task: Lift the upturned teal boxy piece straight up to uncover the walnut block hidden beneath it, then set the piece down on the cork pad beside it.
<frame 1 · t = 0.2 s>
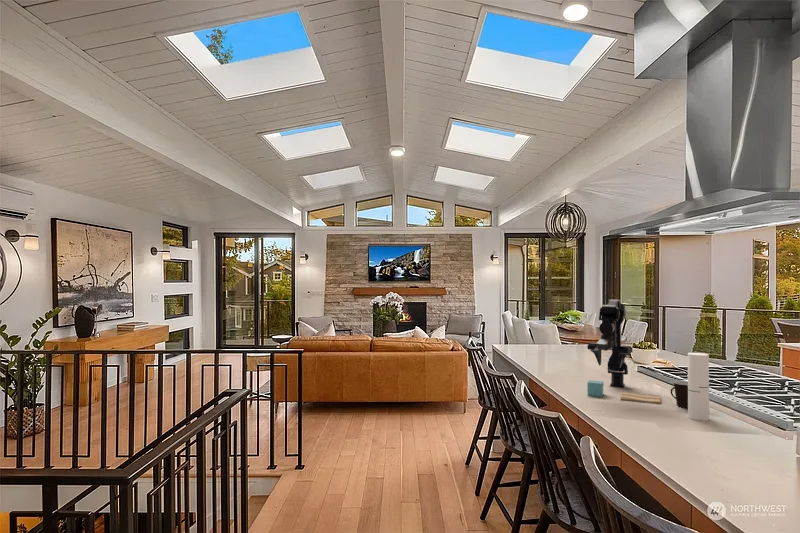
hand: (609, 366, 236), 14 cm above the counter, tool pointing down, fingers open, 9 cm apart
cylindrical container: (698, 418, 200), on the counter
teal boxy piece: (595, 394, 240), on the counter
coffee mug: (681, 407, 218), on the counter
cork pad: (640, 398, 232), on the counter
walnut block: (595, 390, 240), in the teal boxy piece
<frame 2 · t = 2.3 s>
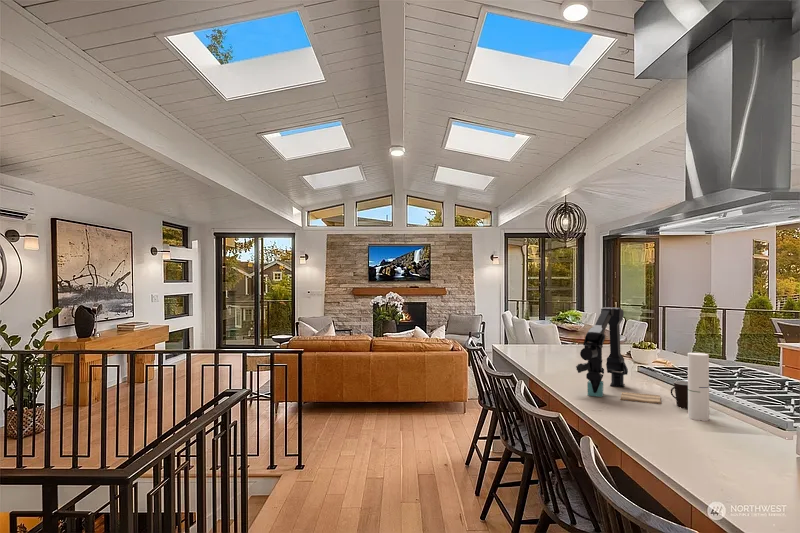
hand: (595, 391, 240), 2 cm above the counter, tool pointing down, fingers closed on teal boxy piece, 6 cm apart
teal boxy piece: (595, 394, 240), on the counter, touching gripper
everything else where it was.
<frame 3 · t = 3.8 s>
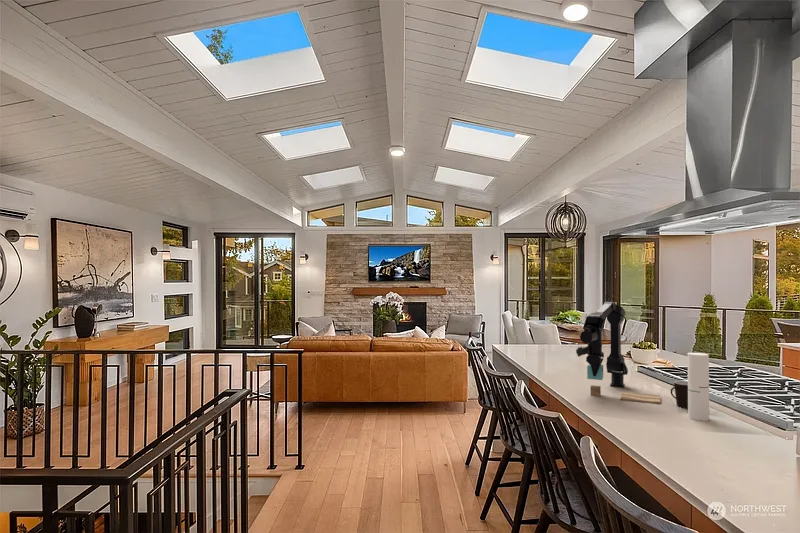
hand: (595, 374, 240), 9 cm above the counter, tool pointing down, fingers closed on teal boxy piece, 6 cm apart
teal boxy piece: (595, 378, 240), point 8 cm above the counter, touching gripper
everything else where it was.
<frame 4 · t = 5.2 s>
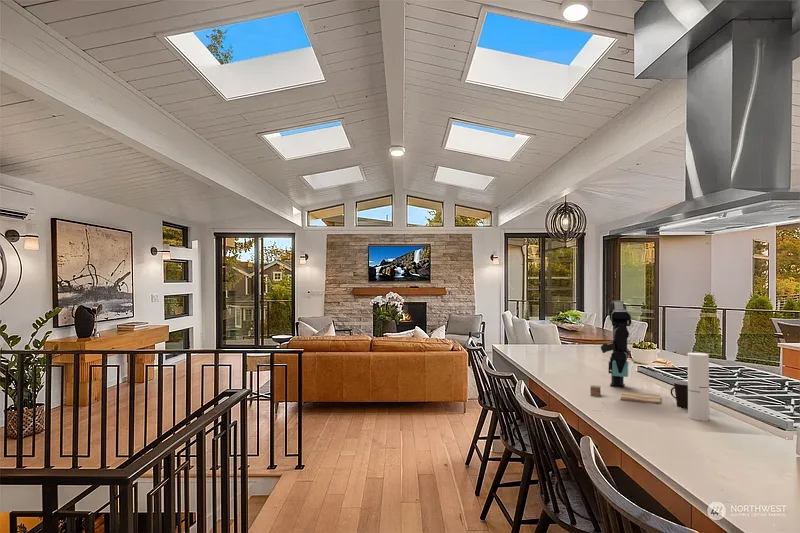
hand: (620, 371, 235), 11 cm above the counter, tool pointing down, fingers closed on teal boxy piece, 6 cm apart
teal boxy piece: (620, 375, 235), point 10 cm above the counter, touching gripper
everything else where it was.
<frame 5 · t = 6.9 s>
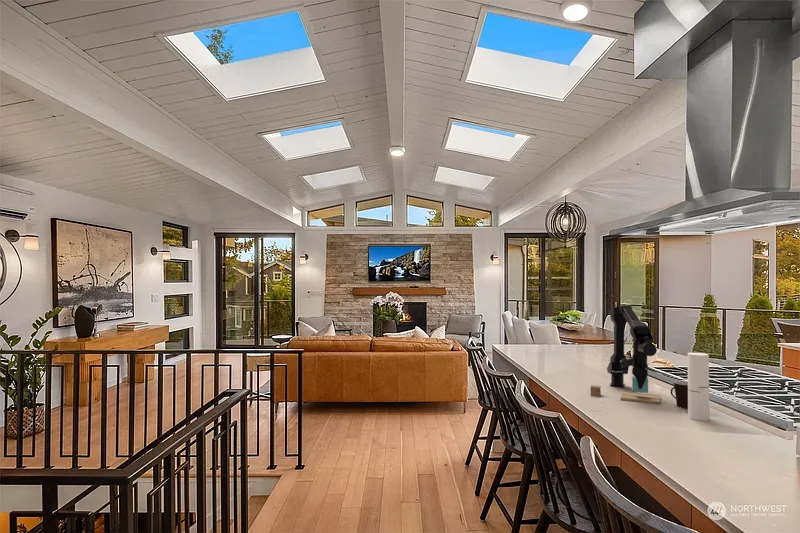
hand: (640, 387, 232), 5 cm above the counter, tool pointing down, fingers closed on teal boxy piece, 6 cm apart
teal boxy piece: (640, 390, 232), point 4 cm above the counter, touching gripper
everything else where it was.
when the fingers open (3 cm above the counter, at t = 8.2 s): teal boxy piece stays where it is, resting on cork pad.
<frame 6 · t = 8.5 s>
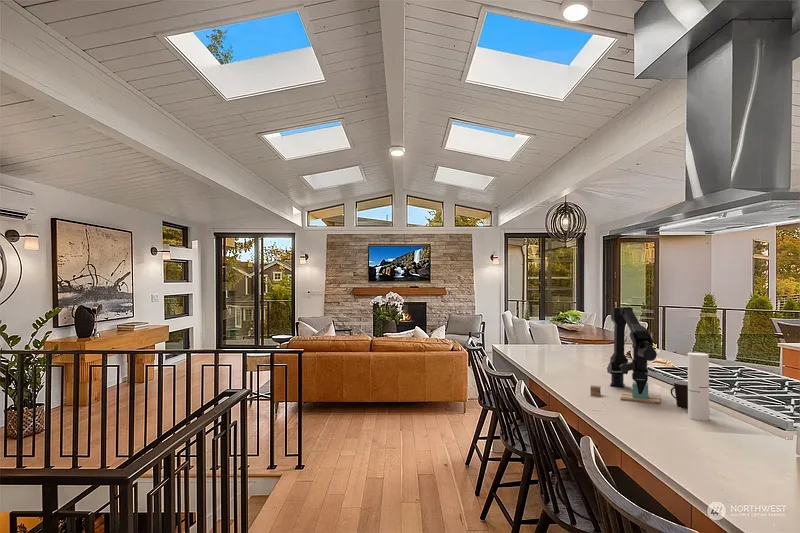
hand: (640, 391, 232), 3 cm above the counter, tool pointing down, fingers open, 9 cm apart
teal boxy piece: (640, 396, 232), point 1 cm above the counter, touching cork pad
everything else where it was.
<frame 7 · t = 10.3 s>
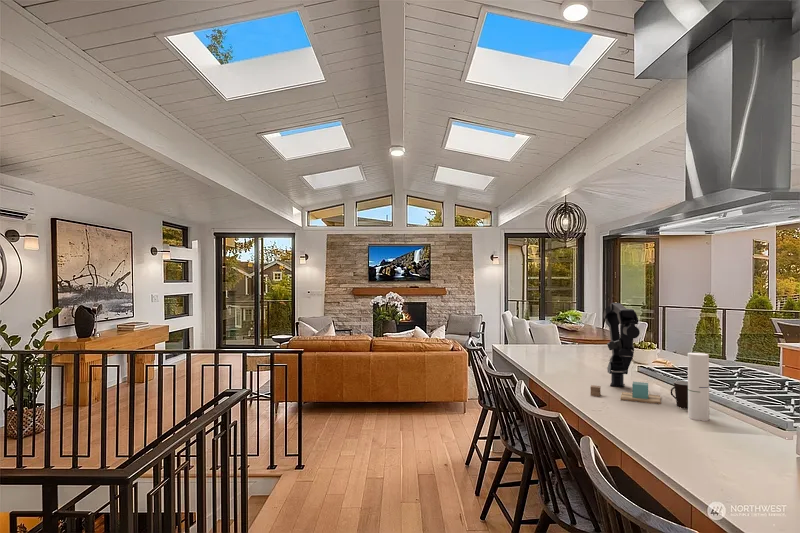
hand: (626, 368, 244), 12 cm above the counter, tool pointing down, fingers open, 9 cm apart
nothing on the counter moved.
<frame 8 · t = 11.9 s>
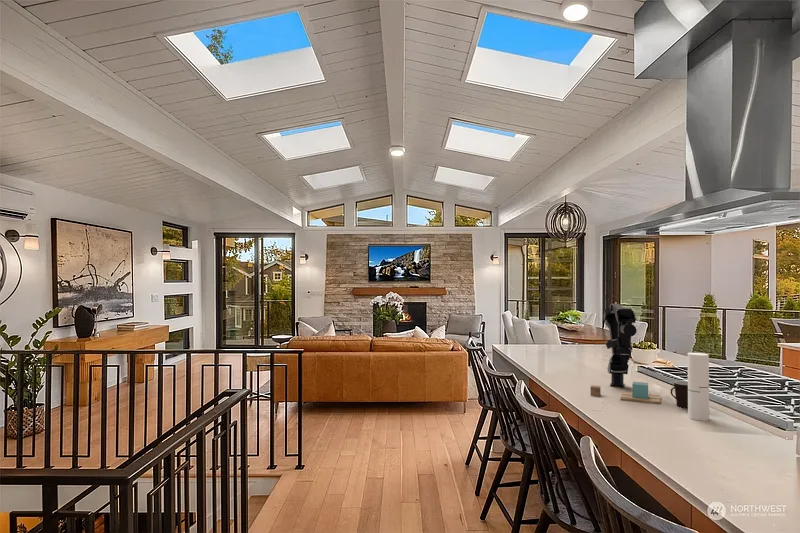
hand: (624, 366, 245), 12 cm above the counter, tool pointing down, fingers open, 9 cm apart
nothing on the counter moved.
at the end: teal boxy piece inside the target area on the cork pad (0.0 cm from its centre), point 0.8 cm above the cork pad's base; teal boxy piece tilted 0°; the gripper is holding nothing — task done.
